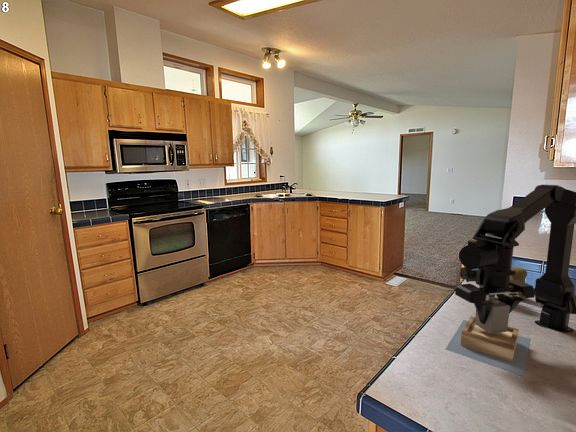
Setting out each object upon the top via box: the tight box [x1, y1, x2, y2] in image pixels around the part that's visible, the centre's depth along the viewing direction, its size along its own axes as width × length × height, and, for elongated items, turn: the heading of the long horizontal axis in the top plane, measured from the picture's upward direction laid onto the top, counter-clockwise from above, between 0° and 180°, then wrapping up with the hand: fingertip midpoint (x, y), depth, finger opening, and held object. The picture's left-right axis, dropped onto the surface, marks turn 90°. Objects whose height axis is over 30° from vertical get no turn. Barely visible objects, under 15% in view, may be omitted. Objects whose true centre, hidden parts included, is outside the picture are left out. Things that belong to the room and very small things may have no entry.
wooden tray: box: [460, 316, 519, 362], centre depth 81 cm, size 11×11×4 cm
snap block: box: [474, 297, 510, 334], centre depth 80 cm, size 5×5×8 cm
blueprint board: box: [445, 319, 531, 377], centre depth 82 cm, size 20×16×1 cm
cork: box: [510, 266, 528, 302], centre depth 112 cm, size 6×6×11 cm
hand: (491, 322), depth 81 cm, fingers closed on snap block, 5 cm apart
